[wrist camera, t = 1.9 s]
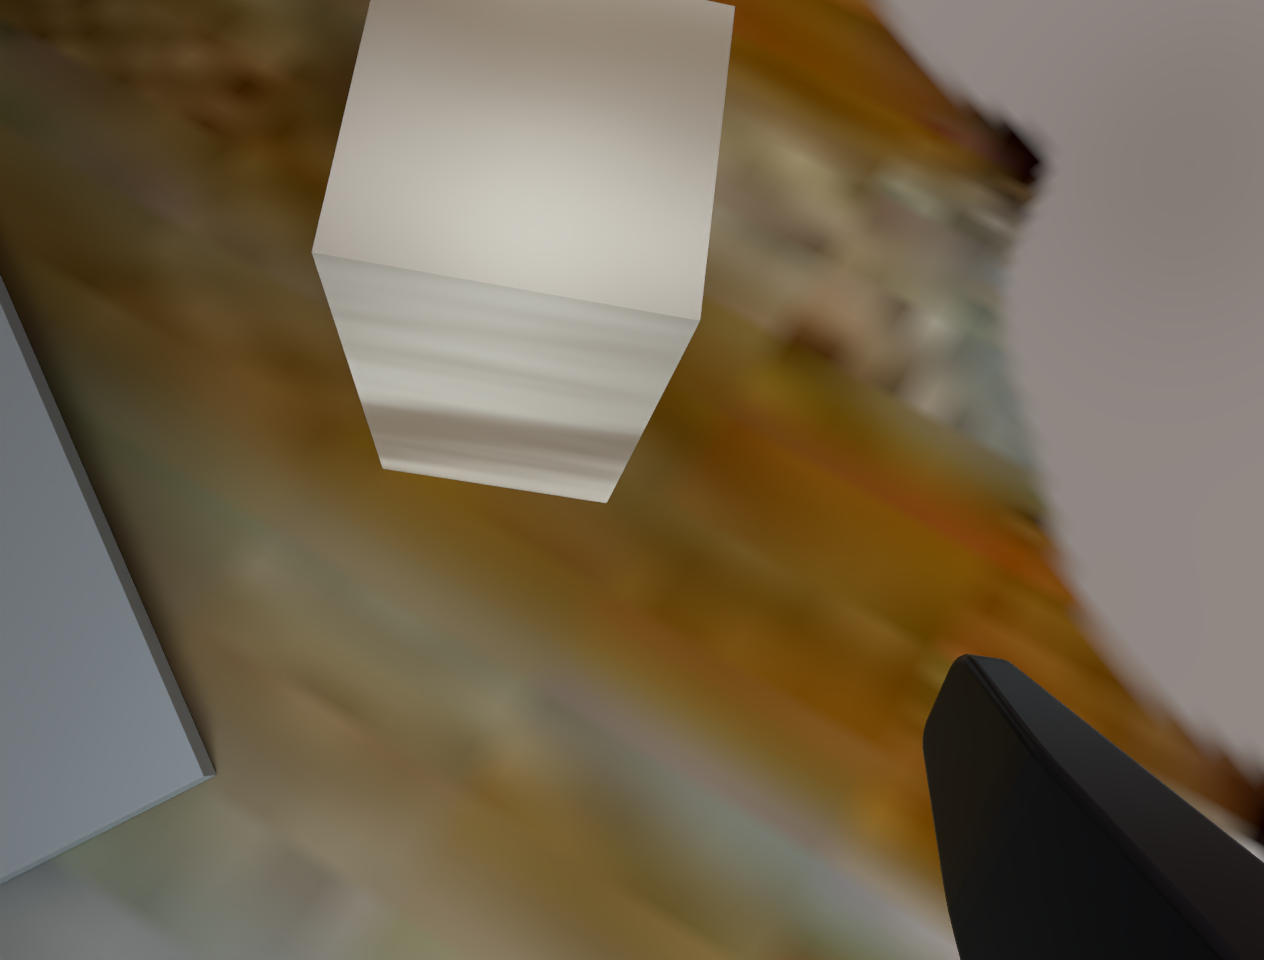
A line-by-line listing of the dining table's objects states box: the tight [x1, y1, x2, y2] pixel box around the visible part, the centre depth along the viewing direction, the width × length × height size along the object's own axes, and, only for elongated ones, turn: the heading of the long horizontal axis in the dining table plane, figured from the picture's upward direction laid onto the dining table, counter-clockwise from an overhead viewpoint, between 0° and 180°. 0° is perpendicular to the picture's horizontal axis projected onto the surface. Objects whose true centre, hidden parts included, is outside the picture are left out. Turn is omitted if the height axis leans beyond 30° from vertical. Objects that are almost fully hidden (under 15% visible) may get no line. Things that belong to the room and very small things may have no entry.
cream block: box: [312, 0, 735, 503], centre depth 18 cm, size 5×5×10 cm
